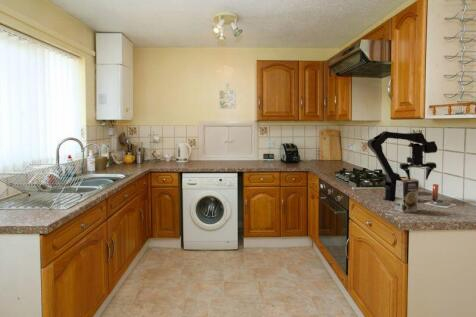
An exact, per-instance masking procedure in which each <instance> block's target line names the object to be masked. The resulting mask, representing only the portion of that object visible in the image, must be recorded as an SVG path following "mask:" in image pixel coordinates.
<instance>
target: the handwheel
mask: <svg viewBox="0 0 476 317" xmlns="http://www.w3.org/2000/svg"><path fill="white" fill-rule="evenodd" d="M439 186H440V185H439V184H437V183H433V184H432V192H431V193H432V194H431V200H429V202H430V203H433V204H437V205H451V201H449V200H443V199H438V198H439Z"/></svg>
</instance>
